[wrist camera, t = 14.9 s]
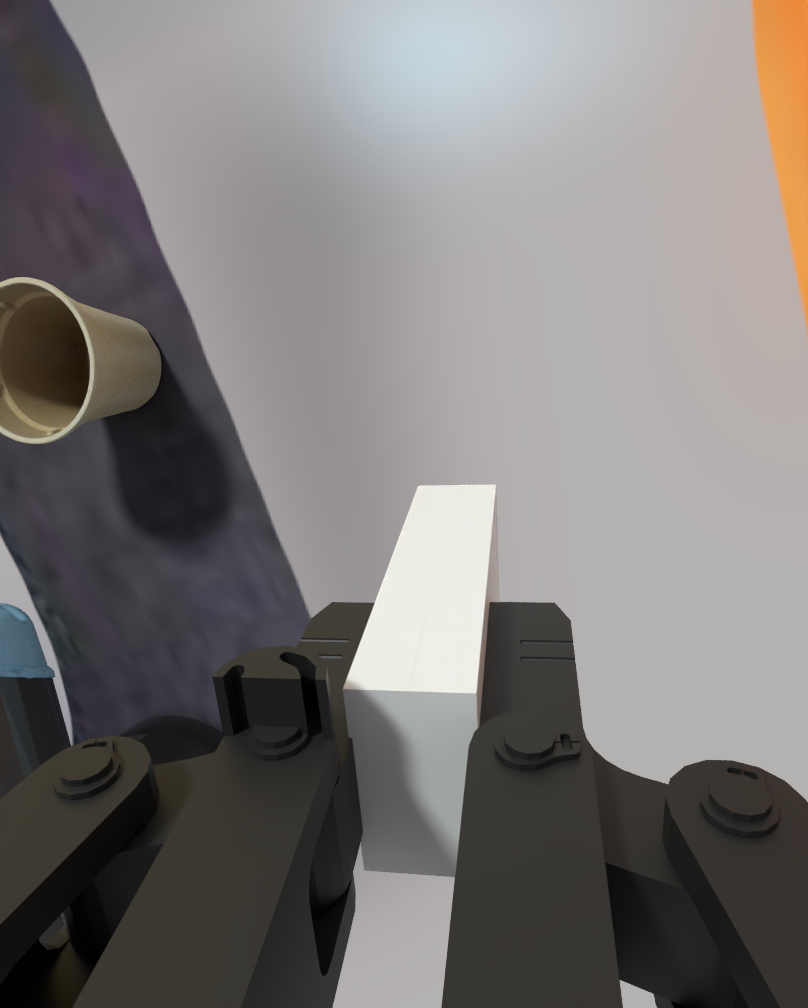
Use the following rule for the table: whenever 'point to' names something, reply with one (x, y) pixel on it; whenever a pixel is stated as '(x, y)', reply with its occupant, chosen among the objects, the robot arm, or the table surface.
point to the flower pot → (67, 362)
